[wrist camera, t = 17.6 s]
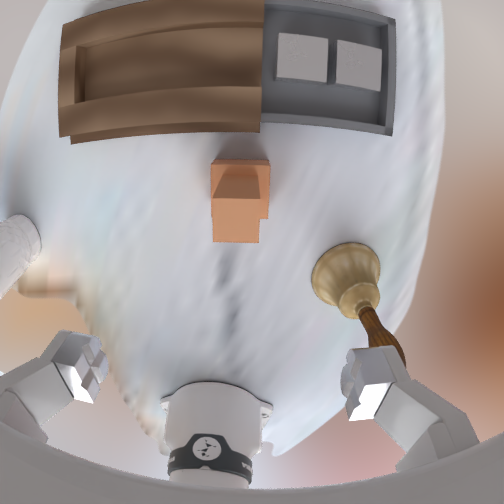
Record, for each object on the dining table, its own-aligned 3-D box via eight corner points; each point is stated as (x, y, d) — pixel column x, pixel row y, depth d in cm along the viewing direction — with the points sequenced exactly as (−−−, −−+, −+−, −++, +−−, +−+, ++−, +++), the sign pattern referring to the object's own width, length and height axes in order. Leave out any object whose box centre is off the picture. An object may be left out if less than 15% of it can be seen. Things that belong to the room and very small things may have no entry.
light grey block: (318, 85, 23) (326, 82, 20) (273, 80, 23) (276, 77, 20) (320, 46, 21) (328, 38, 18) (275, 40, 21) (278, 32, 18)
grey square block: (367, 92, 23) (380, 91, 20) (326, 85, 23) (335, 82, 20) (369, 54, 21) (381, 49, 18) (328, 46, 21) (337, 39, 18)
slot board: (259, 131, 25) (260, 134, 22) (76, 142, 25) (60, 147, 22) (263, -4, 19) (265, -16, 16) (79, 22, 19) (64, 16, 16)
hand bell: (322, 236, 30) (375, 345, 16) (389, 248, 31) (463, 344, 17) (303, 300, 34) (329, 418, 20) (365, 307, 34) (411, 411, 20)
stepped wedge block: (266, 208, 29) (273, 255, 20) (215, 207, 29) (198, 253, 20) (268, 160, 27) (277, 185, 18) (215, 159, 27) (195, 184, 18)
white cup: (13, 198, 27) (-39, 229, 18) (51, 233, 30) (3, 275, 21) (1, 240, 30) (-42, 275, 21) (37, 273, 32) (-3, 316, 24)
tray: (381, 133, 25) (392, 136, 23) (259, 121, 25) (260, 121, 23) (385, 24, 20) (395, 19, 18) (263, 5, 19) (264, -4, 17)
